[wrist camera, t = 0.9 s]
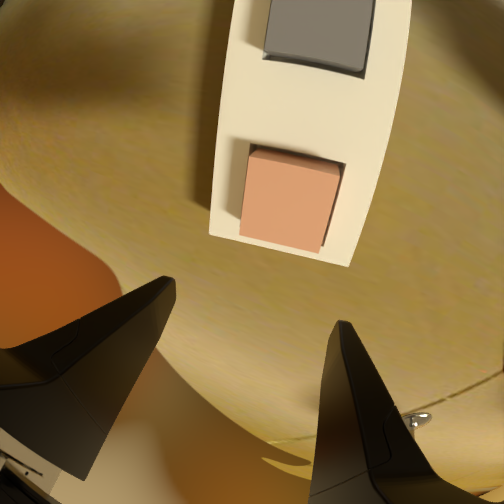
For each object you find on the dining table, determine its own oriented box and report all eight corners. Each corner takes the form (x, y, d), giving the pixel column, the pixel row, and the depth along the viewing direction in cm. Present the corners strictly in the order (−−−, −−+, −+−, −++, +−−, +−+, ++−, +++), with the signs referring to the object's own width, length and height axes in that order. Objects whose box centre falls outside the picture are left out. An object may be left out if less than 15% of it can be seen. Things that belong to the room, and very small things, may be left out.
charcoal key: (367, 2, 10) (373, -11, 8) (356, 72, 13) (363, 69, 11) (282, -14, 11) (276, -28, 9) (271, 55, 14) (264, 50, 12)
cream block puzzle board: (402, -89, 5) (409, -105, 3) (346, 246, 21) (348, 266, 19) (271, -111, 6) (263, -128, 4) (221, 217, 23) (209, 234, 20)
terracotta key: (337, 164, 17) (340, 176, 14) (319, 234, 19) (318, 253, 17) (258, 147, 17) (249, 156, 15) (248, 218, 20) (238, 235, 18)
